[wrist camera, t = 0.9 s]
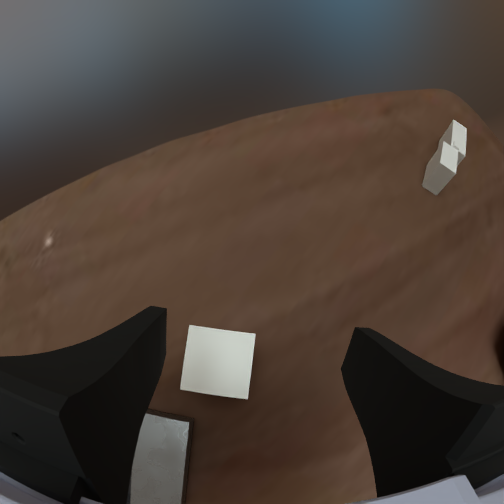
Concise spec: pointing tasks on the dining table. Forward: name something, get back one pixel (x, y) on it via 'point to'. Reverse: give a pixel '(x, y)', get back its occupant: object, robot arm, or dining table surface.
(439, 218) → the dining table surface
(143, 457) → the socket
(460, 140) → the notched white block
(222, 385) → the plug
